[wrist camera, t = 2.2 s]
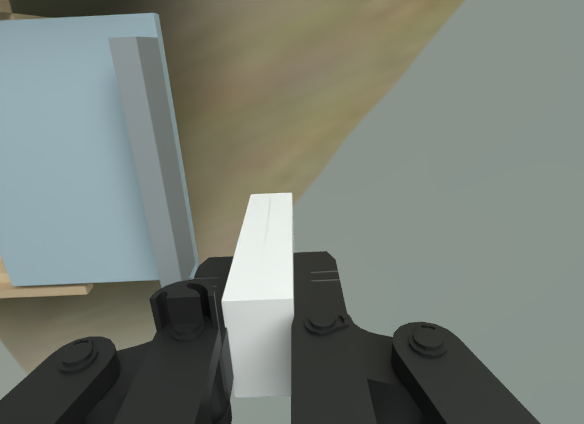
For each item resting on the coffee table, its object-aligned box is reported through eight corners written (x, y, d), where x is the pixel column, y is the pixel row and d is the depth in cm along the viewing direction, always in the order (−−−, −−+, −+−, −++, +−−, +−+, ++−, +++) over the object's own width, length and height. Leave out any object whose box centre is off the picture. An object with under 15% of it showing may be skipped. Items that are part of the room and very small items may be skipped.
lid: (-77, 25, 20) (-156, 21, 16) (158, 13, 20) (130, 7, 16) (20, 279, 26) (-22, 316, 22) (200, 271, 26) (186, 307, 22)
